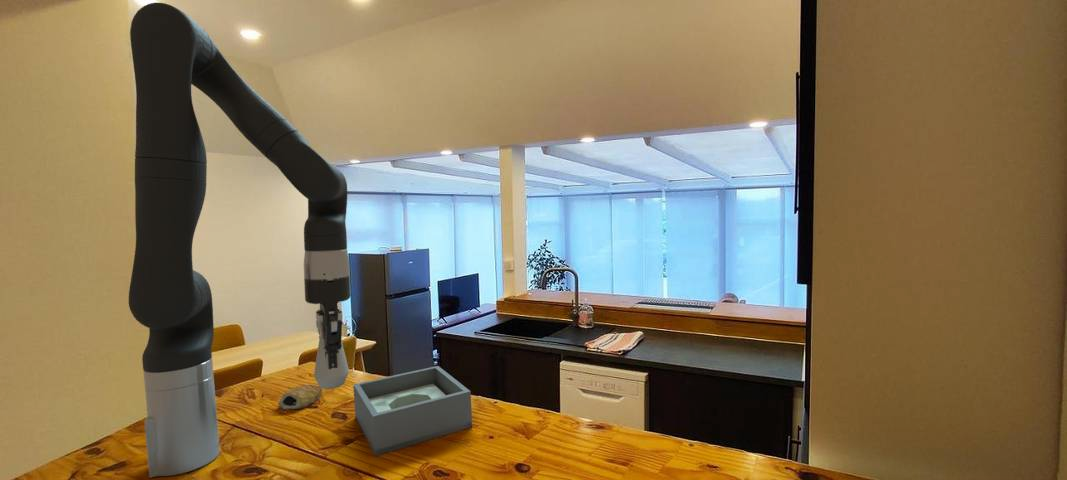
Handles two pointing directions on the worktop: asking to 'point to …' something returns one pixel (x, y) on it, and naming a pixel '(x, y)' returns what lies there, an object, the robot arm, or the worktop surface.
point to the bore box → (411, 408)
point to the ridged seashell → (300, 397)
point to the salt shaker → (322, 372)
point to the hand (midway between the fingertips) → (331, 367)
